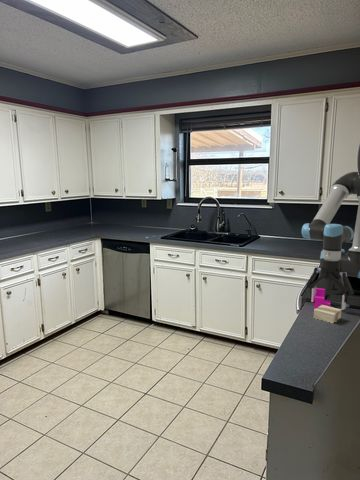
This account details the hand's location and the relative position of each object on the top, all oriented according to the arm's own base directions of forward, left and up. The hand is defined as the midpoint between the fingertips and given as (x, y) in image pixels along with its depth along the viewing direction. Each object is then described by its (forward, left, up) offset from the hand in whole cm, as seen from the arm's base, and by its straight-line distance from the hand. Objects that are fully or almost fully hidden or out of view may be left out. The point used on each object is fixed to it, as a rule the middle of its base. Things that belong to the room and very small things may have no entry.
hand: (327, 305), depth 158 cm
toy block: (+2, -2, -2) cm, 3 cm away
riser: (+14, +6, -2) cm, 15 cm away
